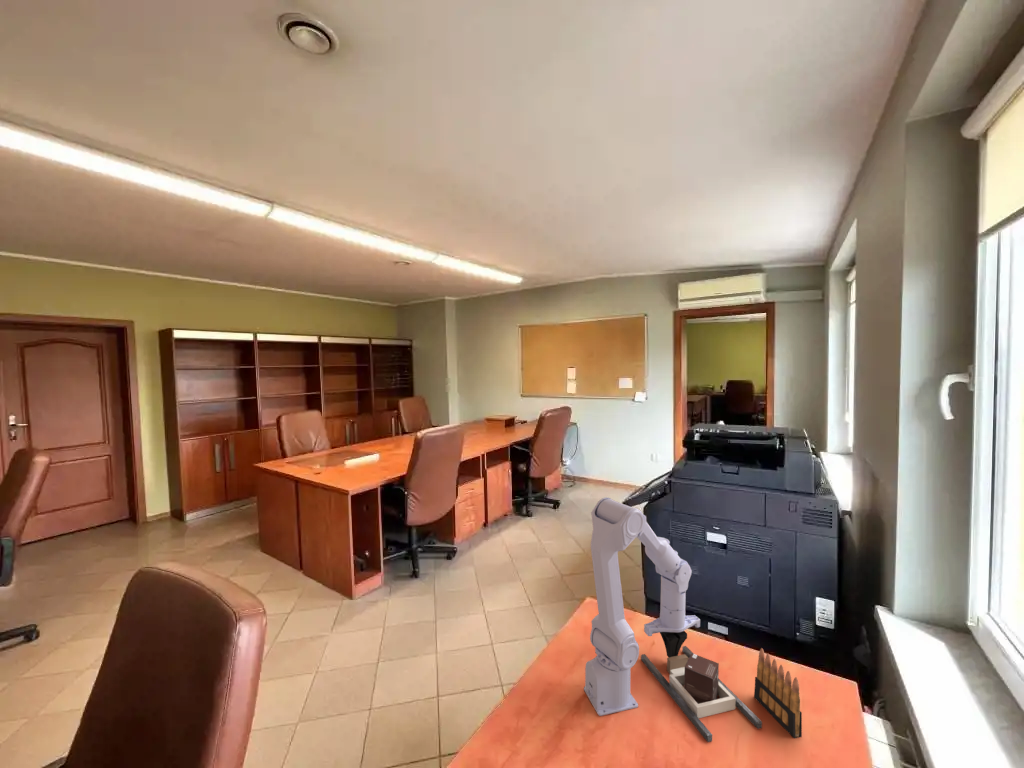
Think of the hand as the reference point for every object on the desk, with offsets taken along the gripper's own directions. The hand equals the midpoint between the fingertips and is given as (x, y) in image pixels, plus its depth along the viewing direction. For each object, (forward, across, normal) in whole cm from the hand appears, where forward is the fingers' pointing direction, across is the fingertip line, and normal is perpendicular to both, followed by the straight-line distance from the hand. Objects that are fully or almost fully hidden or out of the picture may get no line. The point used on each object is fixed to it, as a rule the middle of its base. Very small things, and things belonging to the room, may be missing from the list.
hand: (671, 657), depth 105 cm
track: (+2, 0, +9) cm, 9 cm away
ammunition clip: (+2, -12, +19) cm, 23 cm away
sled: (+2, 0, +9) cm, 9 cm away
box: (+2, 0, +11) cm, 11 cm away
